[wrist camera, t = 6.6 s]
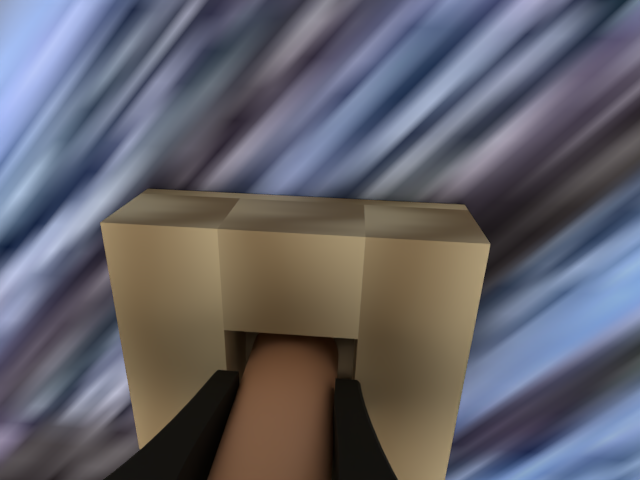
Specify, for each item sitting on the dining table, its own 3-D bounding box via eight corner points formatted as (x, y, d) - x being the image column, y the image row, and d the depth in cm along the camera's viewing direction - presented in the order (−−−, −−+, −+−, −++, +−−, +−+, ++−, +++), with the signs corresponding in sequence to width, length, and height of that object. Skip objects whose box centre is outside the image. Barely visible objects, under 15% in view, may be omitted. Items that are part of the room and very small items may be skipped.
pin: (343, 323, 14) (332, 553, 8) (333, 393, 15) (317, 643, 9) (254, 312, 14) (171, 531, 8) (251, 382, 16) (177, 623, 9)
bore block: (464, 204, 14) (490, 244, 11) (425, 444, 18) (437, 516, 15) (148, 188, 15) (100, 222, 12) (177, 424, 19) (146, 490, 16)
